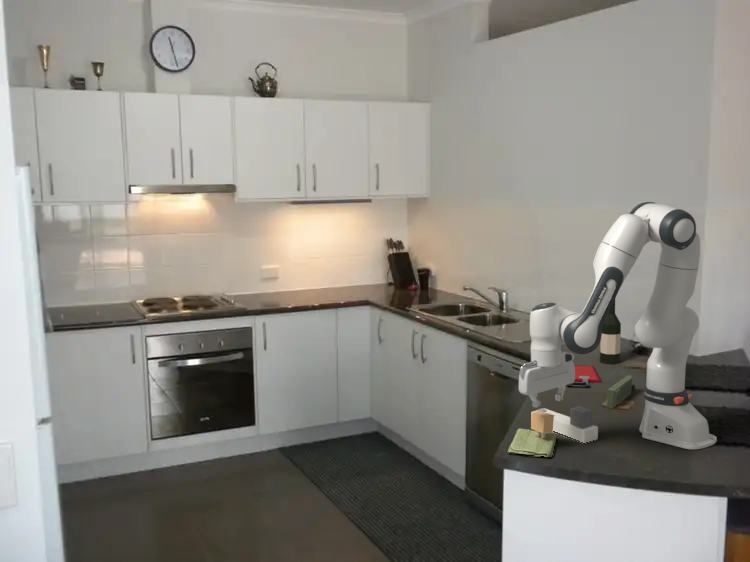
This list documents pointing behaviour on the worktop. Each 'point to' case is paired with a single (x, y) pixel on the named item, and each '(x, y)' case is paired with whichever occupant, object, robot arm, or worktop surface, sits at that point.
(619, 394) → the handheld radio
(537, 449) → the washcloth
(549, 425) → the orange charger
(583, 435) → the power strip
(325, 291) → the worktop surface
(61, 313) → the worktop surface
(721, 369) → the worktop surface
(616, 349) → the wine bottle
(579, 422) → the block
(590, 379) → the red board with handle
